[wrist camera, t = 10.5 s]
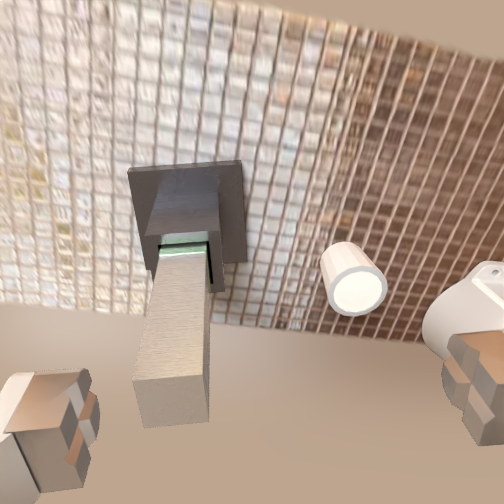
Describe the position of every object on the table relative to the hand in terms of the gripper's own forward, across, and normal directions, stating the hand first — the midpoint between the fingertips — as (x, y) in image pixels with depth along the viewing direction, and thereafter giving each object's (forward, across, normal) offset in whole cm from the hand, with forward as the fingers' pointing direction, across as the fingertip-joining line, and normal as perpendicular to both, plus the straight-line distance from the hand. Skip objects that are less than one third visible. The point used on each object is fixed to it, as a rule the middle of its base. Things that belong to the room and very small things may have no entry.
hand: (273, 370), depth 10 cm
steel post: (+29, -5, -13) cm, 33 cm away
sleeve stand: (+39, -5, -13) cm, 41 cm away
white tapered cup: (+39, +13, -21) cm, 46 cm away
